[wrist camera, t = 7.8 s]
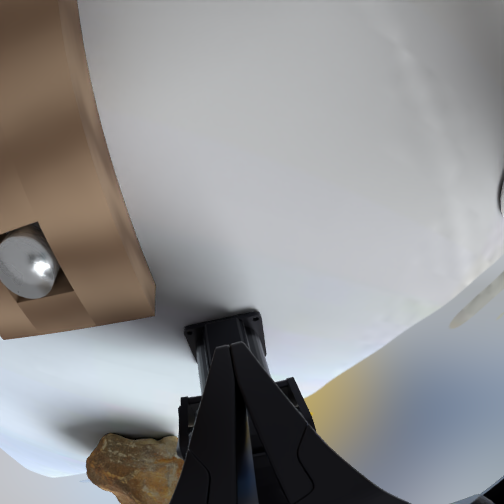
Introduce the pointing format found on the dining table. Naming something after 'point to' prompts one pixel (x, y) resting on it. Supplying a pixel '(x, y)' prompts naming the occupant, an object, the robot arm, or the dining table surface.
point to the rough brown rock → (136, 468)
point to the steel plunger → (27, 262)
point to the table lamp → (502, 199)
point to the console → (62, 178)
